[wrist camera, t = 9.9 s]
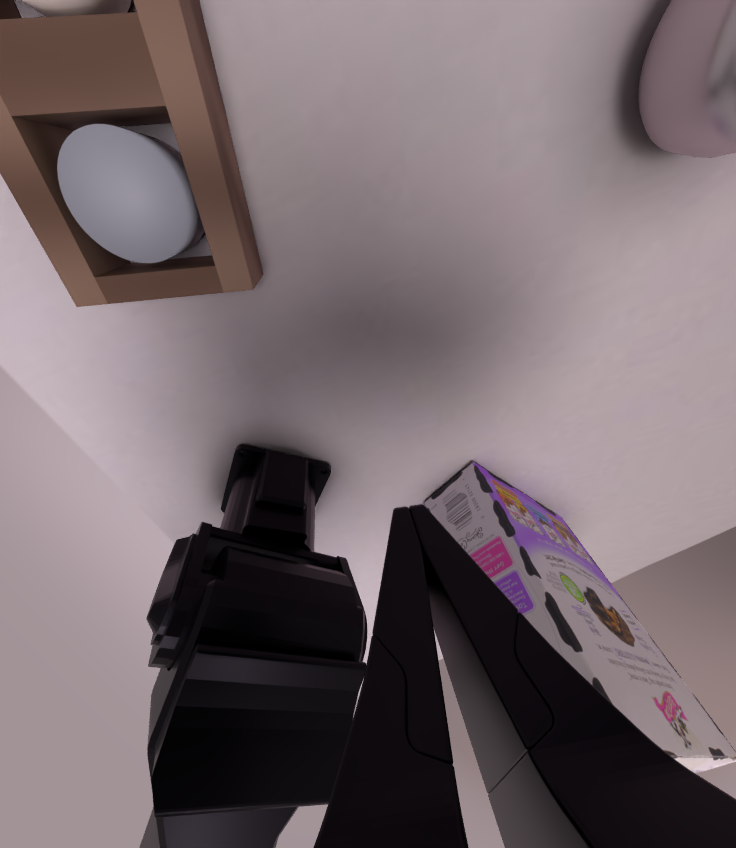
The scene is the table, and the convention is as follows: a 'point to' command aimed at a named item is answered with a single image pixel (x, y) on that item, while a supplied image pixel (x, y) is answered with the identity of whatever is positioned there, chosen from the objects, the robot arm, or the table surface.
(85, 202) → the button grey
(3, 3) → the button panel
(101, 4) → the button cream
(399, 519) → the robot arm
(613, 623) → the candy box
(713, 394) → the table surface
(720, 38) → the plastic bottle
